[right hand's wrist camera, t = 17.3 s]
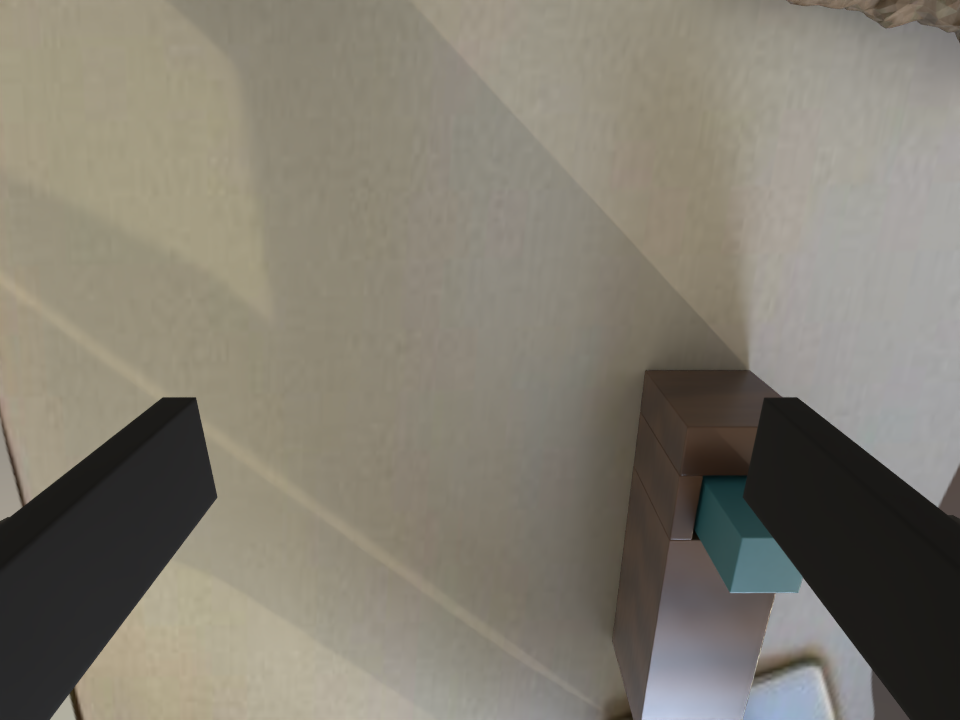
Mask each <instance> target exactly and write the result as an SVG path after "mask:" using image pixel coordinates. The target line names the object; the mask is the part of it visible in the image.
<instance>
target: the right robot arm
mask: <svg viewBox="0 0 960 720" xmlns="http://www.w3.org/2000/svg"><path fill="white" fill-rule="evenodd" d="M216 498H217V493H216V489H215V484H214V479H213V475H212V470H211V465H210V461H209V456H208V451H207V447H206V442H205V437H204V433H203V428H202V423H201V419H200V414H199V409H198V405H197V400H196V397H163V398H161V399H160V400H159V401H158V402H156V403H155V404H154V405H153V406H151V407H150V408H149V409H147V410H146V411H145V412H144V413H142V414H141V415H140V416H139V417H137V418H136V419H135V420H133V421H132V422H131V423H130V424H128V425H127V426H126V427H124V428H123V429H122V430H121V431H119V432H118V433H117V434H116V435H114V436H113V437H112V438H110V439H109V440H108V441H107V442H105V443H104V444H103V445H101V446H100V447H99V448H98V449H96V450H95V451H94V452H93V453H91V454H90V455H89V456H87V457H86V458H85V459H84V460H82V461H81V462H80V463H79V464H77V465H76V466H75V467H73V468H72V469H71V470H70V471H68V472H67V473H66V474H64V475H63V476H62V477H61V478H59V479H58V480H57V481H56V482H54V483H53V484H52V485H50V486H49V487H48V488H47V489H45V490H44V491H43V492H41V493H40V494H39V495H38V496H36V497H35V498H34V499H33V500H31V501H30V502H29V503H27V504H26V505H25V506H24V507H22V508H21V509H20V510H18V511H17V512H16V513H15V514H13V515H12V516H11V517H7V518H5V519H3V520H1V521H0V720H50V719H51V717H52V716H53V715H54V713H55V712H56V711H57V709H58V708H59V707H60V705H61V704H62V703H63V701H64V700H65V699H66V697H67V696H68V695H69V693H70V692H71V691H72V689H73V688H74V687H75V685H76V684H77V683H78V681H79V680H80V679H81V678H82V676H83V675H84V674H85V672H86V671H87V670H88V668H89V667H90V666H91V664H92V663H93V662H94V660H95V659H96V658H97V656H98V655H99V654H100V652H101V651H102V650H103V648H104V647H105V646H106V644H107V643H108V642H109V640H110V639H111V638H112V636H113V635H114V634H115V632H116V631H117V630H118V628H119V627H120V626H121V624H122V623H123V622H124V620H125V619H126V618H127V617H128V615H129V614H130V613H131V611H132V610H133V609H134V607H135V606H136V605H137V603H138V602H139V601H140V599H141V598H142V597H143V595H144V594H145V593H146V591H147V590H148V589H149V587H150V586H151V585H152V583H153V582H154V581H155V579H156V578H157V577H158V575H159V574H160V573H161V571H162V570H163V569H164V567H165V566H166V565H167V563H168V562H169V561H170V559H171V558H172V557H173V556H174V554H175V553H176V552H177V550H178V549H179V548H180V546H181V545H182V544H183V542H184V541H185V540H186V538H187V537H188V536H189V534H190V533H191V532H192V530H193V529H194V528H195V526H196V525H197V524H198V522H199V521H200V520H201V518H202V517H203V516H204V514H205V513H206V512H207V510H208V509H209V508H210V506H211V505H212V504H213V502H214V501H215V500H216ZM743 498H744V500H745V501H746V502H747V504H748V505H749V506H750V508H751V509H752V510H753V512H754V513H755V514H756V516H757V517H758V518H759V520H760V521H761V522H762V524H763V525H764V526H765V528H766V529H767V530H768V532H769V533H770V534H771V536H772V537H773V538H774V540H775V541H776V542H777V544H778V545H779V546H780V548H781V549H782V550H783V552H784V553H785V554H786V556H787V557H788V558H789V559H790V561H791V562H792V563H793V565H794V566H795V567H796V569H797V570H798V571H799V573H800V574H801V575H802V577H803V578H804V579H805V581H806V582H807V583H808V585H809V586H810V587H811V589H812V590H813V591H814V593H815V594H816V595H817V597H818V598H819V599H820V601H821V602H822V603H823V605H824V606H825V607H826V609H827V610H828V611H829V613H830V614H831V615H832V617H833V618H834V619H835V620H836V622H837V623H838V624H839V626H840V627H841V628H842V630H843V631H844V632H845V634H846V635H847V636H848V638H849V639H850V640H851V642H852V643H853V644H854V646H855V647H856V648H857V650H858V651H859V652H860V654H861V655H862V656H863V658H864V659H865V660H866V662H867V663H868V664H869V666H870V667H871V668H872V670H873V671H874V672H875V674H876V675H877V676H878V678H879V679H880V680H881V681H882V683H883V684H884V685H885V687H886V688H887V689H888V691H889V692H890V693H891V695H892V696H893V697H894V699H895V700H896V701H897V703H898V704H899V705H900V707H901V708H902V709H903V711H904V712H905V713H906V715H907V716H908V717H909V719H910V720H960V519H959V518H957V517H955V516H953V515H947V514H945V513H944V512H943V511H942V510H940V509H939V508H938V507H936V506H935V505H934V504H933V503H931V502H930V501H929V500H927V499H926V498H925V497H924V496H922V495H921V494H920V493H919V492H917V491H916V490H915V489H913V488H912V487H911V486H910V485H908V484H907V483H906V482H904V481H903V480H902V479H901V478H899V477H898V476H897V475H896V474H894V473H893V472H892V471H890V470H889V469H888V468H887V467H885V466H884V465H883V464H881V463H880V462H879V461H878V460H876V459H875V458H874V457H873V456H871V455H870V454H869V453H867V452H866V451H865V450H864V449H862V448H861V447H860V446H859V445H857V444H856V443H855V442H853V441H852V440H851V439H850V438H848V437H847V436H846V435H844V434H843V433H842V432H841V431H839V430H838V429H837V428H836V427H834V426H833V425H832V424H830V423H829V422H828V421H827V420H825V419H824V418H823V417H821V416H820V415H819V414H818V413H816V412H815V411H814V410H813V409H811V408H810V407H809V406H807V405H806V404H805V403H804V402H802V401H801V400H800V399H799V398H797V397H764V400H763V405H762V409H761V414H760V419H759V423H758V428H757V433H756V437H755V442H754V447H753V451H752V456H751V461H750V465H749V470H748V475H747V479H746V484H745V489H744V493H743Z"/></svg>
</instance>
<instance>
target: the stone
mask: <svg viewBox="0 0 960 720" xmlns="http://www.w3.org/2000/svg"><path fill="white" fill-rule="evenodd" d="M787 1H788V2H789V3H790V4H795V5H802V6H812V5H820V6H824V7H829V8H836V9H843V8H845V9H847V10H856V11H860V12H863V13H864V14H865V15H866V16H867V17H869V18H871V19H873V20H874V21H876V22H878V23H879V24H880V25H881V26H883V27H884V28H893V27H896V26H900V25H903V24H906V23H909V22H912V21H918V22H919V23H920V24H922V25H929V26H934V27H939V28H940V29H942V30H944V31H946V32H955V34H956V36H957V39H958V40H959V42H960V0H787Z"/></svg>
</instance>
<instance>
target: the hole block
mask: <svg viewBox="0 0 960 720" xmlns="http://www.w3.org/2000/svg"><path fill="white" fill-rule="evenodd" d="M764 397H782V396H780V395H779V394H778V393H777V392H775V391H774V390H773V389H772V388H771V387H769V386H768V385H767V384H766V383H764V382H763V381H762V380H761V379H760V378H758V377H757V376H756V375H755V374H754V373H752V372H751V371H750V370H646V371H645V378H644V386H643V394H642V403H641V412H640V419H639V427H638V435H637V444H636V452H635V460H634V467H633V475H632V484H631V492H630V500H629V508H628V516H627V525H626V533H625V541H624V549H623V558H622V566H621V574H620V582H619V590H618V599H617V607H616V615H615V623H614V632H613V640H612V642H613V646H614V649H615V653H616V657H617V660H618V664H619V668H620V672H621V675H622V679H623V683H624V686H625V690H626V694H627V698H628V701H629V705H630V709H631V713H632V716H633V720H743V716H744V713H745V709H746V705H747V701H748V697H749V693H750V690H751V686H752V682H753V678H754V674H755V670H756V667H757V663H758V659H759V655H760V651H761V648H762V644H763V640H764V636H765V632H766V628H767V625H768V621H769V617H770V613H771V609H772V605H773V602H774V598H775V594H776V593H730V592H729V591H728V589H727V587H726V585H725V583H724V582H723V580H722V578H721V576H720V574H719V573H718V571H717V569H716V567H715V566H714V564H713V562H712V560H711V558H710V557H709V555H708V553H707V551H706V550H705V548H704V546H703V544H702V542H701V541H700V539H699V537H698V535H697V534H696V532H695V530H694V524H695V518H696V512H697V507H698V501H699V496H700V490H701V484H702V479H703V476H702V475H748V470H749V465H750V461H751V456H752V451H753V447H754V442H755V437H756V433H757V428H758V423H759V419H760V414H761V409H762V405H763V400H764Z"/></svg>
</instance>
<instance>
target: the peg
mask: <svg viewBox="0 0 960 720" xmlns="http://www.w3.org/2000/svg"><path fill="white" fill-rule="evenodd" d="M702 476H703V479H702V484H701V490H700V496H699V501H698V507H697V512H696V518H695V524H694V530H695V532H696V534H697V535H698V537H699V539H700V541H701V542H702V544H703V546H704V548H705V550H706V551H707V553H708V555H709V557H710V558H711V560H712V562H713V564H714V566H715V567H716V569H717V571H718V573H719V574H720V576H721V578H722V580H723V582H724V583H725V585H726V587H727V589H728V591H729V592H730V593H798V592H799V589H800V586H801V582H802V579H803V577H802V575H801V574H800V573H799V571H798V570H797V569H796V567H795V566H794V565H793V563H792V562H791V561H790V559H789V558H788V557H787V556H786V554H785V553H784V552H783V550H782V549H781V548H780V546H779V545H778V544H777V542H776V541H775V540H774V538H773V537H772V536H771V534H770V533H769V532H768V530H767V529H766V528H765V526H764V525H763V524H762V522H761V521H760V520H759V518H758V517H757V516H756V514H755V513H754V512H753V510H752V509H751V508H750V506H749V505H748V504H747V502H746V501H745V500H744V498H743V493H744V489H745V484H746V479H747V475H702Z"/></svg>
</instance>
